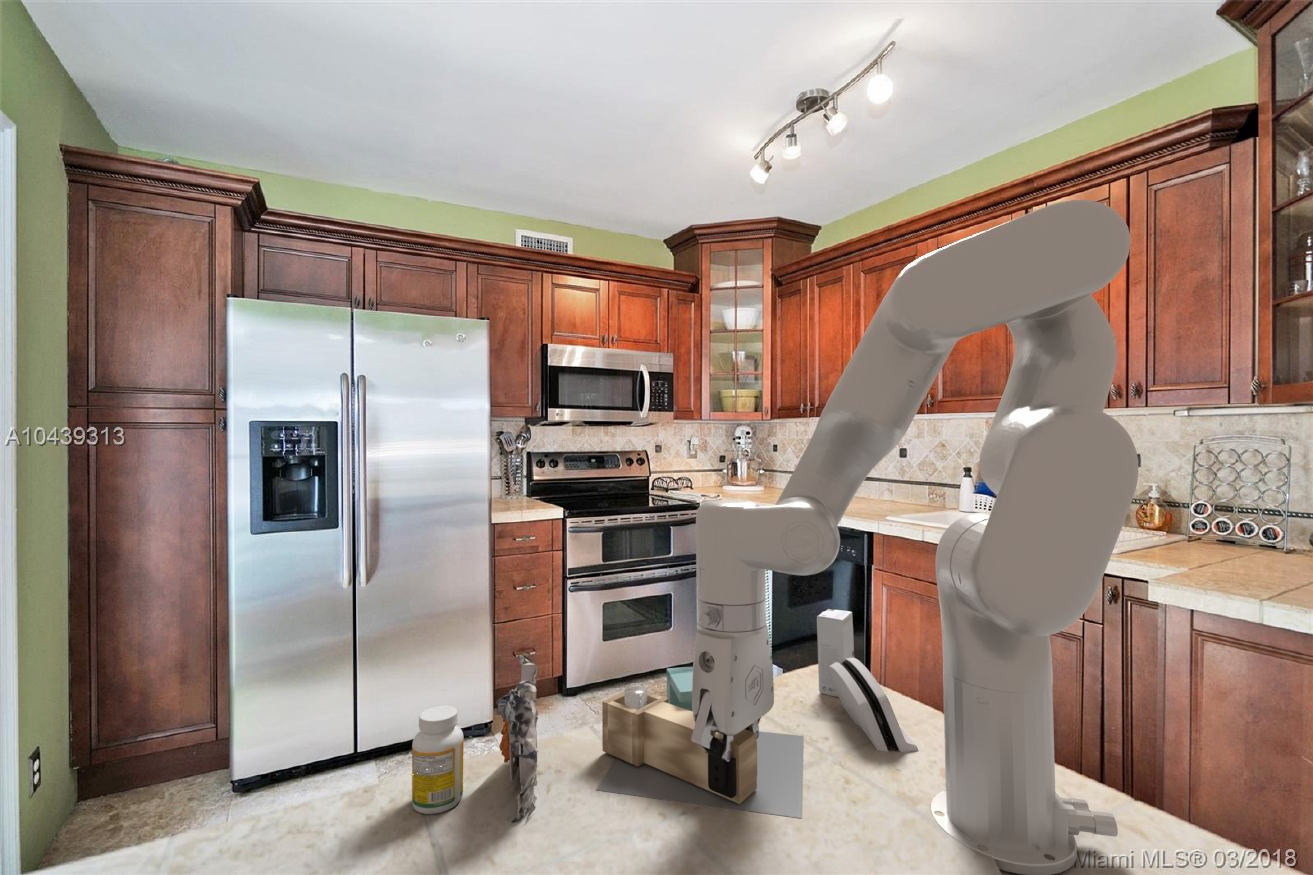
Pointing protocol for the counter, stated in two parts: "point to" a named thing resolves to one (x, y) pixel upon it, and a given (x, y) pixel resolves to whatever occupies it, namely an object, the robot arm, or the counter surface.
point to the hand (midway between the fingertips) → (733, 782)
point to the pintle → (636, 697)
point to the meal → (521, 734)
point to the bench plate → (772, 795)
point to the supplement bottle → (437, 761)
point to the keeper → (680, 687)
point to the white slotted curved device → (869, 706)
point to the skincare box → (833, 645)
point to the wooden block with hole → (671, 742)
